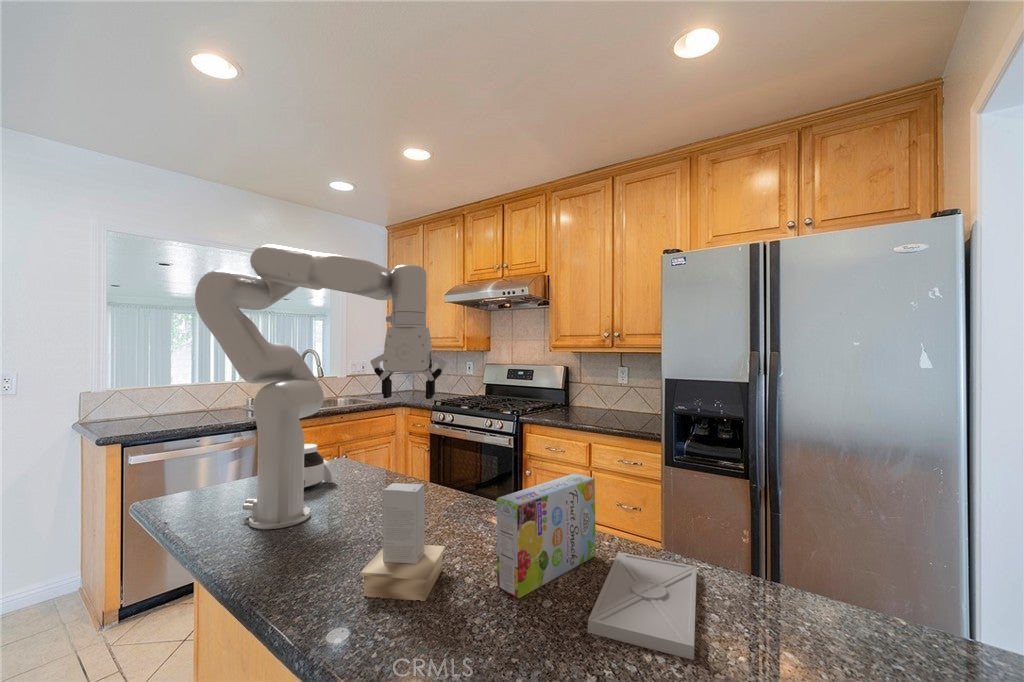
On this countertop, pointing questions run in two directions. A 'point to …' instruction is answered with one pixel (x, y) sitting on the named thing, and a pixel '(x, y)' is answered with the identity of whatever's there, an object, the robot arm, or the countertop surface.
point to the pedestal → (403, 576)
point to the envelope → (648, 605)
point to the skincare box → (403, 523)
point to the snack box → (544, 532)
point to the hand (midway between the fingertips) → (408, 398)
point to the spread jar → (316, 468)
